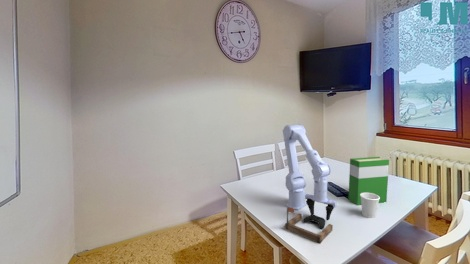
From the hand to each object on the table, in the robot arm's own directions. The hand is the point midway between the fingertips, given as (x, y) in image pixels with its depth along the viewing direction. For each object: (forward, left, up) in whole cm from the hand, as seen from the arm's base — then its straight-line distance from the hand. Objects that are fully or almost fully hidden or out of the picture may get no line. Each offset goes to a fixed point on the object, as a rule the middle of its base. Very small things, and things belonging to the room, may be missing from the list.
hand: (319, 216), depth 109 cm
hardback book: (-37, +11, -2) cm, 38 cm away
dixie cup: (-20, +16, -2) cm, 25 cm away
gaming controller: (+5, 0, -2) cm, 5 cm away
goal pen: (+12, 0, -1) cm, 12 cm away
